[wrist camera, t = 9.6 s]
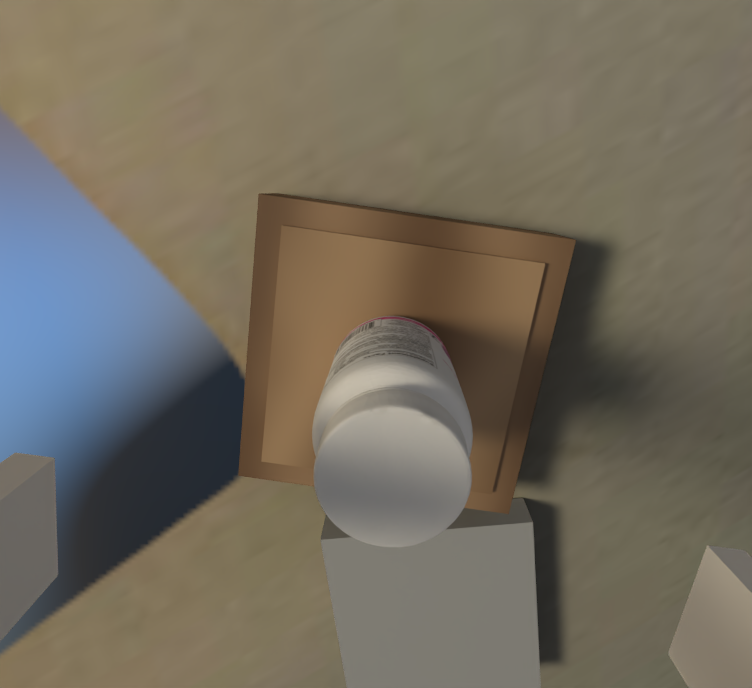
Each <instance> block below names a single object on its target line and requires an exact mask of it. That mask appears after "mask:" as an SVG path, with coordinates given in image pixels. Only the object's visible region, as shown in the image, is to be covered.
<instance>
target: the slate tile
mask: <svg viewBox="0 0 752 688" xmlns="http://www.w3.org/2000/svg"><path fill="white" fill-rule="evenodd" d="M321 545H322V551H323V557H324V562H325V568H326V573H327V579H328V584H329V590H330V596H331V601H332V607H333V612H334V618H335V624H336V629H337V635H338V640H339V646H340V652H341V657H342V663H343V668H344V674H345V679H346V685H347V688H541V683H540V661H539V640H538V618H537V597H536V575H535V554H534V532H533V521H532V518H531V516H530V514H529V511H528V509H527V506H526V504H525V502H524V499H523V498H515V499H512V503H511V507H510V511H509V514H504V513H497V512H490V511H483V510H476V509H469V508H464V509H463V510H462V512H461V513H460V515H459V516H458V517H457V519H456V520H455V521H454V522H453V523H452V524H451V525H450V526H449V527H448V528H446V529H445V530H444V531H443V532H441V533H440V534H438V535H437V536H435V537H433V538H432V539H430V540H427V541H425V542H422V543H419V544H417V545H412V546H406V547H381V546H375V545H371V544H368V543H364V542H362V541H359V540H357V539H354V538H353V537H351V536H349V535H348V534H346V533H345V532H343V531H342V530H341V529H339V528H338V527H337V526H336V525H335V524H334V523H333V522H332V521H331V520H330V519H329V518H328V516H327V515H326V517H325V521H324V526H323V531H322V535H321Z"/></svg>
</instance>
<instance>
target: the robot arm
mask: <svg viewBox="0 0 752 688" xmlns="http://www.w3.org/2000/svg"><path fill="white" fill-rule="evenodd" d="M54 459H55V458H51V457H43V456H36V455H29V454H21V453H14V454H13V455H11V456H10V457H9V458H7V459H6V460H4V461H3V462H1V463H0V641H1V640H2V639H3V638H4V637H5V635H6V634H7V633H8V632H9V631H10V630H11V628H12V627H13V626H14V625H15V624H16V623H17V622H18V620H19V619H20V618H21V617H22V616H23V615H24V613H25V612H26V611H27V610H28V609H29V608H30V607H31V605H32V604H33V603H34V602H35V601H36V600H37V599H38V597H39V596H40V595H41V594H42V593H43V592H44V591H45V589H46V588H47V587H48V586H49V585H50V584H51V582H52V581H53V580H54V579H55V578H56V577H57V576H58V559H57V524H56V493H55V491H56V490H55V460H54ZM668 655H669V657H670V658H671V660H672V661H673V663H674V665H675V666H676V668H677V669H678V671H679V673H680V674H681V676H682V678H683V679H684V681H685V682H686V684H687V686H688V687H689V688H752V557H751V556H750V555H749V554H748V553H747V552H746V551H745V550H739V549H731V548H724V547H716V546H709V545H707V548H706V551H705V553H704V556H703V559H702V562H701V564H700V567H699V570H698V572H697V575H696V578H695V581H694V583H693V586H692V589H691V592H690V594H689V597H688V600H687V603H686V605H685V608H684V611H683V614H682V616H681V619H680V622H679V625H678V627H677V630H676V633H675V636H674V638H673V641H672V644H671V647H670V649H669V652H668Z"/></svg>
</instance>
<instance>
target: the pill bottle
mask: <svg viewBox="0 0 752 688" xmlns="http://www.w3.org/2000/svg"><path fill="white" fill-rule="evenodd" d="M472 440H473V432H472V423H471V418H470V414H469V410H468V407H467V404H466V401H465V398H464V395H463V392H462V390H461V387H460V384H459V381H458V378H457V376H456V373H455V370H454V367H453V365H452V362H451V359H450V356H449V354H448V352H447V350H446V348H445V346H444V344H443V342H442V341H441V340H440V338H439V337H438V336H437V335H436V334H435V333H434V332H433V331H432V330H431V329H429V328H428V327H427V326H425V325H424V324H422V323H420V322H417V321H415V320H412V319H409V318H405V317H400V316H383V317H378V318H374V319H371V320H368V321H366V322H364V323H362V324H360V325H359V326H357V327H356V328H355V329H353V330H352V331H351V332H350V333H349V334H348V335H347V336H346V337H345V338H344V340H343V341H342V342H341V344H340V346H339V347H338V349H337V351H336V354H335V356H334V359H333V363H332V366H331V368H330V371H329V374H328V377H327V379H326V382H325V385H324V388H323V391H322V393H321V396H320V399H319V402H318V405H317V408H316V411H315V415H314V420H313V427H312V442H313V448H314V453H315V456H316V459H315V464H314V476H313V477H314V487H315V491H316V495H317V498H318V501H319V503H320V505H321V507H322V509H323V510H324V512H325V513H326V515H327V516H328V518H329V519H330V520H331V521H332V522H333V523H334V524H335V525H336V526H337V527H338V528H339V529H341V530H342V531H343V532H345V533H346V534H348V535H349V536H351V537H353V538H354V539H357V540H359V541H362V542H364V543H368V544H371V545H375V546H381V547H406V546H412V545H417V544H419V543H422V542H425V541H427V540H430V539H432V538H433V537H435V536H437V535H438V534H440V533H441V532H443V531H444V530H445V529H446V528H448V527H449V526H450V525H451V524H452V523H453V522H454V521H455V520H456V519H457V517H458V516H459V515H460V513H461V512H462V510H463V509H464V507H465V504H466V502H467V500H468V497H469V494H470V489H471V484H472V471H471V463H470V459H469V457H470V454H471V449H472Z"/></svg>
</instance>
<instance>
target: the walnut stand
mask: <svg viewBox="0 0 752 688" xmlns="http://www.w3.org/2000/svg"><path fill="white" fill-rule="evenodd" d="M575 242H576V240H574V239H571V238H567V237H564V236H560V235H556V234H552V233H546V232H539V231H532V230H525V229H518V228H511V227H504V226H497V225H491V224H484V223H477V222H470V221H463V220H456V219H449V218H442V217H436V216H429V215H422V214H415V213H408V212H401V211H394V210H387V209H381V208H374V207H367V206H360V205H353V204H346V203H339V202H332V201H325V200H319V199H312V198H305V197H298V196H291V195H284V194H277V193H271V194H259V197H258V211H257V225H256V239H255V253H254V267H253V281H252V294H251V308H250V322H249V336H248V350H247V364H246V378H245V392H244V405H243V419H242V433H241V434H242V435H241V448H240V461H239V476H245V477H252V478H259V479H266V480H273V481H280V482H287V483H294V484H301V485H308V486H314V477H313V476H314V464H315V459H316V456H315V453H314V448H313V442H312V427H313V420H314V415H315V411H316V408H317V405H318V402H319V399H320V396H321V393H322V391H323V388H324V385H325V382H326V379H327V377H328V374H329V371H330V368H331V366H332V363H333V359H334V356H335V354H336V351H337V349H338V347H339V346H340V344H341V342H342V341H343V340H344V338H345V337H346V336H347V335H348V334H349V333H350V332H351V331H352V330H353V329H355V328H356V327H357V326H359V325H360V324H362V323H364V322H366V321H368V320H371V319H374V318H378V317H383V316H400V317H405V318H409V319H412V320H415V321H417V322H420V323H422V324H424V325H425V326H427V327H428V328H429V329H431V330H432V331H433V332H434V333H435V334H436V335H437V336H438V337H439V338H440V340H441V341H442V342H443V344H444V346H445V348H446V350H447V352H448V354H449V356H450V359H451V362H452V365H453V367H454V370H455V373H456V376H457V378H458V381H459V384H460V387H461V390H462V392H463V395H464V398H465V401H466V404H467V407H468V410H469V414H470V418H471V423H472V432H473V440H472V449H471V454H470V457H469V459H470V463H471V471H472V484H471V489H470V494H469V497H468V500H467V502H466V504H465V507H464V508H469V509H476V510H483V511H490V512H497V513H504V514H509V511H510V507H511V503H512V499H513V495H514V491H515V487H516V483H517V478H518V474H519V470H520V466H521V462H522V458H523V454H524V450H525V446H526V442H527V438H528V434H529V430H530V426H531V421H532V417H533V413H534V409H535V405H536V401H537V397H538V393H539V389H540V385H541V381H542V377H543V373H544V369H545V364H546V360H547V356H548V352H549V348H550V344H551V340H552V336H553V332H554V328H555V324H556V320H557V316H558V312H559V308H560V303H561V299H562V295H563V291H564V287H565V283H566V279H567V275H568V271H569V267H570V263H571V259H572V255H573V251H574V246H575Z"/></svg>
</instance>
